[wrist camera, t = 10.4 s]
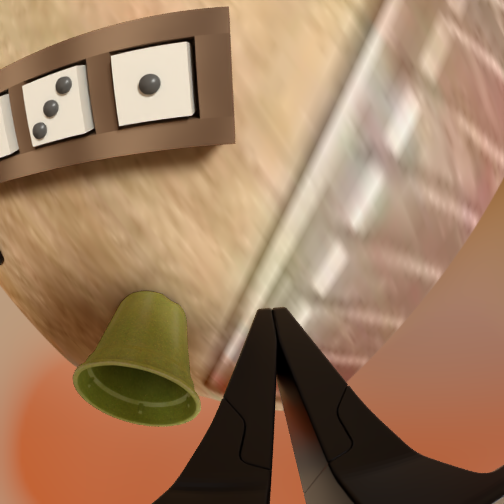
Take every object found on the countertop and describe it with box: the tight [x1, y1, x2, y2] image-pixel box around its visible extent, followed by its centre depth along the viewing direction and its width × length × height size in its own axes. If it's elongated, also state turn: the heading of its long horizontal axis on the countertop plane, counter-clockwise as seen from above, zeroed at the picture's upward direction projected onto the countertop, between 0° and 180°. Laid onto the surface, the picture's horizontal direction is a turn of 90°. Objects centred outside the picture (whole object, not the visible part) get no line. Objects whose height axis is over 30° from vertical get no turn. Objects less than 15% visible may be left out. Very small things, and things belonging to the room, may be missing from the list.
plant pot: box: [73, 291, 201, 427], centre depth 22 cm, size 9×9×9 cm
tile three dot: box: [22, 65, 95, 147], centre depth 13 cm, size 4×4×3 cm
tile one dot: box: [111, 42, 198, 126], centre depth 13 cm, size 4×4×3 cm
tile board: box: [0, 7, 235, 183], centre depth 14 cm, size 18×7×4 cm, turn 92°
